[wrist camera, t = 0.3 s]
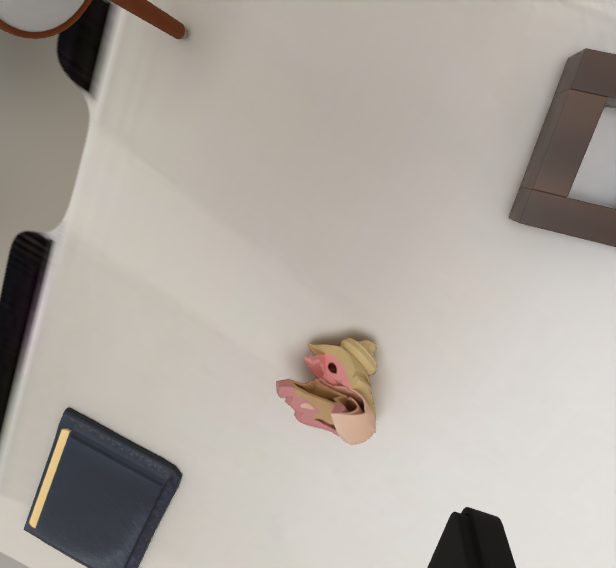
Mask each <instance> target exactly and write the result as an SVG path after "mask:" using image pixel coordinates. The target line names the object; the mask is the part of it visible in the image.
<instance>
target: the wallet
mask: <svg viewBox="0 0 616 568" xmlns="http://www.w3.org/2000/svg"><path fill="white" fill-rule="evenodd" d="M181 477H182V475H181V473H180V472H179V471H178V469H177V468H176V467H175V466H174V465H172V464H170V463H169V462H167V461H165V460H164V459H162V458H160V457H158V456H156V455H154V454H153V453H151V452H149V451H147V450H145V449H143V448H141V447H139V446H138V445H136V444H134V443H132V442H130V441H128V440H126V439H124V438H123V437H121V436H119V435H117V434H116V433H114V432H112V431H110V430H108V429H107V428H105V427H103V426H101V425H100V424H98V423H96V422H94V421H92V420H90V419H89V418H87V417H85V416H83V415H81V414H79V413H77V412H75V411H74V410H72V409H70V408H67V409H66V410H65V411H64V413H63V416H62V418H61V421H60V423H59V426H58V430H57V433H56V436H55V440H54V443H53V446H52V449H51V452H50V455H49V457H48V460H47V463H46V466H45V469H44V472H43V475H42V478H41V481H40V484H39V486H38V489H37V492H36V495H35V498H34V501H33V504H32V507H31V510H30V512H29V515H28V518H27V521H26V524H25V527H24V530H25V531H27V532H29V533H30V534H32V535H34V536H36V537H37V538H39V539H40V540H42V541H43V542H45V543H46V544H48V545H50V546H51V547H53V548H55V549H56V550H58V551H60V552H62V553H63V554H65V555H67V556H68V557H70V558H72V559H74V560H75V561H77V562H79V563H80V564H82V565H84V566H86V567H87V568H138V566H139V564H140V562H141V560H142V558H143V556H144V553H145V551H146V549H147V547H148V545H149V543H150V541H151V538H152V536H153V534H154V532H155V530H156V528H157V526H158V524H159V522H160V520H161V518H162V516H163V514H164V512H165V511H166V509H167V507H168V505H169V503H170V501H171V499H172V497H173V495H174V494H175V492H176V490H177V488H178V486H179V483H180V480H181Z"/></svg>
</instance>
